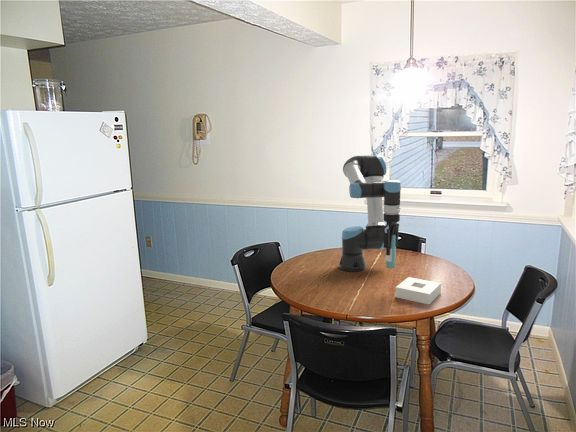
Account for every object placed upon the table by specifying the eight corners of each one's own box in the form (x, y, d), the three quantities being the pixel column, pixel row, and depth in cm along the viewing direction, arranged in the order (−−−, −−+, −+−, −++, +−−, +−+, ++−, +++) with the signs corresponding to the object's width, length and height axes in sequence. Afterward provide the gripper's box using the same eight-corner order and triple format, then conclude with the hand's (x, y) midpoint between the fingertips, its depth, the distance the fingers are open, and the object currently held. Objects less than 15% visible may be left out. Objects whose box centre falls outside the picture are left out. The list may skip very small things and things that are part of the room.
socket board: (395, 297, 200) (395, 287, 199) (408, 286, 212) (408, 277, 211) (429, 304, 190) (429, 294, 189) (440, 293, 203) (441, 283, 202)
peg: (385, 267, 208) (385, 235, 204) (388, 264, 211) (389, 233, 207) (392, 268, 205) (393, 236, 202) (396, 266, 208) (396, 234, 205)
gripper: (391, 217, 193) (390, 266, 198) (406, 210, 206) (404, 256, 211) (376, 215, 197) (375, 263, 203) (391, 208, 211) (390, 253, 216)
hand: (390, 259), depth 207 cm, fingers closed on peg, 4 cm apart
